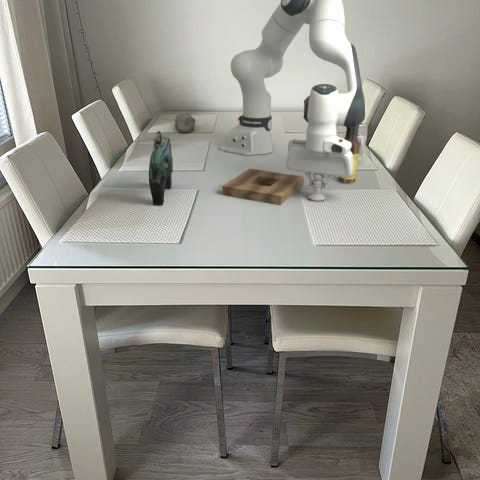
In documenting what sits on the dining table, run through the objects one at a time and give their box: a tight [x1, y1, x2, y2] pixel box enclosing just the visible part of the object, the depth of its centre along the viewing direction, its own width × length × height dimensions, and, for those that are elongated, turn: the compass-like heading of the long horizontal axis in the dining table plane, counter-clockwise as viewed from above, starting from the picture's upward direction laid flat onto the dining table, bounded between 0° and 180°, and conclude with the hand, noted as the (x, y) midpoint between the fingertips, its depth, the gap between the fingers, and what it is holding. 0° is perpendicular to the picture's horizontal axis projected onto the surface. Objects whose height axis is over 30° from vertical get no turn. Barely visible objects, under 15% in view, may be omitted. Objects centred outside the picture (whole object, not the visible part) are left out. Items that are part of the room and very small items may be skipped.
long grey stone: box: [174, 112, 196, 133], centre depth 245 cm, size 35×5×10 cm
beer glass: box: [357, 121, 369, 166], centre depth 184 cm, size 7×7×15 cm
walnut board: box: [221, 168, 305, 206], centre depth 161 cm, size 20×20×3 cm
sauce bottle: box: [337, 125, 360, 184], centre depth 164 cm, size 6×6×20 cm
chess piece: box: [308, 173, 327, 202], centre depth 152 cm, size 5×5×9 cm
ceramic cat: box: [148, 130, 174, 206], centre depth 153 cm, size 20×6×20 cm, turn 178°
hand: (317, 186), depth 152 cm, fingers closed on chess piece, 3 cm apart
